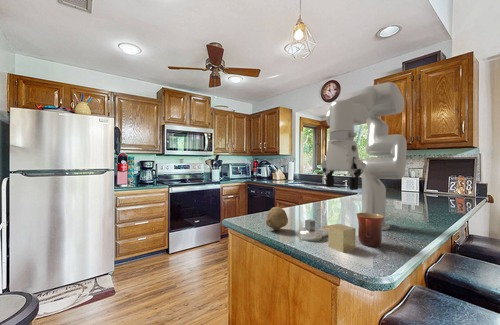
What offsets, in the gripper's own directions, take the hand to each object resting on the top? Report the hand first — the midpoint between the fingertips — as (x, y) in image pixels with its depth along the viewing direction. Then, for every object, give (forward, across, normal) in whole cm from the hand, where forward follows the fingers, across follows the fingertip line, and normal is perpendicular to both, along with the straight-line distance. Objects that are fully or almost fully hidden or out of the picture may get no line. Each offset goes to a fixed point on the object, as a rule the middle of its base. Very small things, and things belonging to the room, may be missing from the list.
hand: (341, 188), depth 75 cm
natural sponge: (+20, +26, +8) cm, 34 cm away
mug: (+20, -3, -11) cm, 23 cm away
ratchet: (+20, +13, -5) cm, 24 cm away
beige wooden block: (+20, 0, 0) cm, 20 cm away
